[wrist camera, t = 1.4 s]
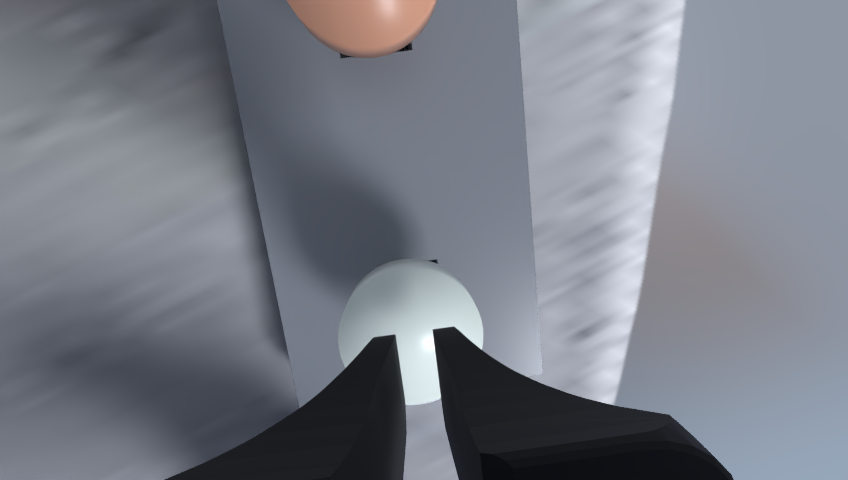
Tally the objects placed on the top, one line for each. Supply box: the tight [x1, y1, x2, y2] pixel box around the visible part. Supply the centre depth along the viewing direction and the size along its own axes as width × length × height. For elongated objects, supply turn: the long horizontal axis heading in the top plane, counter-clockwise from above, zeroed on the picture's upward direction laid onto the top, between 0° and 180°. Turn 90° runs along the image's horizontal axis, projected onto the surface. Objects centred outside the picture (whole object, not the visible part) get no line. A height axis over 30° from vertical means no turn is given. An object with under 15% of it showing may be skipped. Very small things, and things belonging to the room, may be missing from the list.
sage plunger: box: [338, 258, 483, 405], centre depth 15 cm, size 5×5×4 cm
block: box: [217, 0, 543, 408], centre depth 18 cm, size 22×12×3 cm, turn 7°
